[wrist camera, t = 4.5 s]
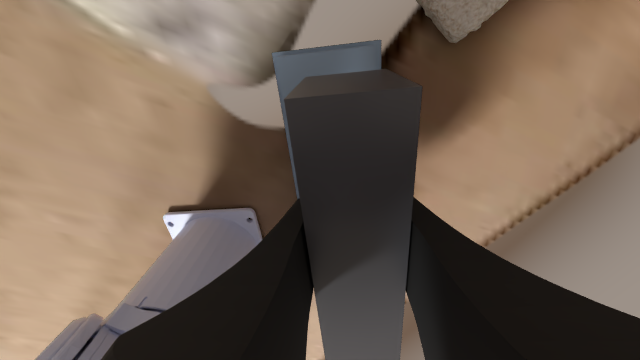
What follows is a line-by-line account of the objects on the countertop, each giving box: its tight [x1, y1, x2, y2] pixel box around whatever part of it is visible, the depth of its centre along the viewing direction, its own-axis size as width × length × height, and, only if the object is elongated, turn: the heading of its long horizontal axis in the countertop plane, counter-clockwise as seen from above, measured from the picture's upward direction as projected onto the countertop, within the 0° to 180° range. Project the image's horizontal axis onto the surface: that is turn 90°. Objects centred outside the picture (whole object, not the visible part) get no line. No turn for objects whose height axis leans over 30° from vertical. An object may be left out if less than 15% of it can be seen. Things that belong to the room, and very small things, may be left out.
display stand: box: [272, 40, 381, 200], centre depth 16 cm, size 12×6×5 cm, turn 6°
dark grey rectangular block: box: [284, 69, 422, 360], centre depth 10 cm, size 11×3×4 cm, turn 6°
